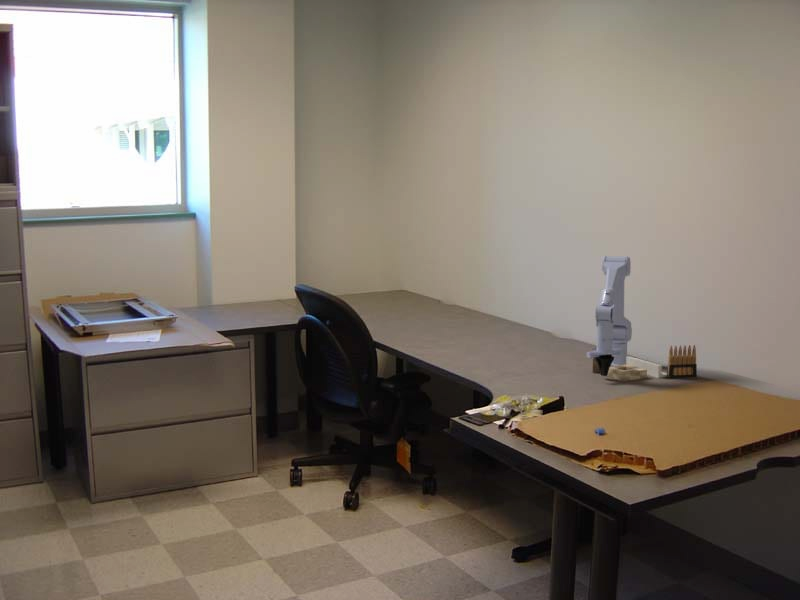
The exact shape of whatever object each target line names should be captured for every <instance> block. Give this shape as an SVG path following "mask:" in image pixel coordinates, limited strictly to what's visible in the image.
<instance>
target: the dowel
mask: <svg viewBox="0 0 800 600" xmlns="http://www.w3.org/2000/svg"><path fill="white" fill-rule="evenodd" d="M594 350H597V347H596V348H595V347H594V348H592V351H594ZM592 373H593V374H601V373H600V369H599V365H598V363H597V361H596V359H595V357H592Z"/></svg>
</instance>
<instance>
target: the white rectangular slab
mask: <svg viewBox="0 0 800 600" xmlns="http://www.w3.org/2000/svg"><path fill="white" fill-rule="evenodd" d="M626 364H629V365H632V366H636V367H639V368H642V369H646V370H647V376H651V377H653V378H656V379H661V378H667V372H664V371H662V369H663V365H662V364H658V363H654V362H651V361H649V360H648V361H647V360H644V359H640V358H636V357H633V356H627V357H626Z"/></svg>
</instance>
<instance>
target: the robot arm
mask: <svg viewBox="0 0 800 600" xmlns="http://www.w3.org/2000/svg"><path fill="white" fill-rule="evenodd" d="M631 262H632V261H631V258H630V257H629V256H609V255H605V256H603V257H602V261H601V269H602V272H603V274H604V275H605V276H606V277H605V287H604V289H602V291H601V293H600V298H599V303H598V306H596V309H595V314H594V317H595V326H596V348H597V350H594V351H593V350H591V351H586V355H585V356H586V358H589V359H593V357H595V359H596V361H597V363H598V365H599V369H600V373H599V374H600V375H601V376H603V377H608V376H607V374H608V371H609V368H610V366H616V365H624V364H626V357H628V342H630V341H631V340H632V337H633V336H632V335H633V334H632V333H633V329H632V322H631V321H630V319H628V318H626V317H625V280H626V277H628V276H630V275H631Z"/></svg>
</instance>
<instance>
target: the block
mask: <svg viewBox="0 0 800 600" xmlns="http://www.w3.org/2000/svg"><path fill="white" fill-rule="evenodd" d="M606 377H609V378H611V379H615V380H618V381H621V382H628V381H632V380H633V381H635V380H641V379H647V378H648V375H647V370H646V369H642V368H639V367H636V366H632V365H629V364H624V365H616V366H612V365H610V368H609V371H608V374H607V376H606Z"/></svg>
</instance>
